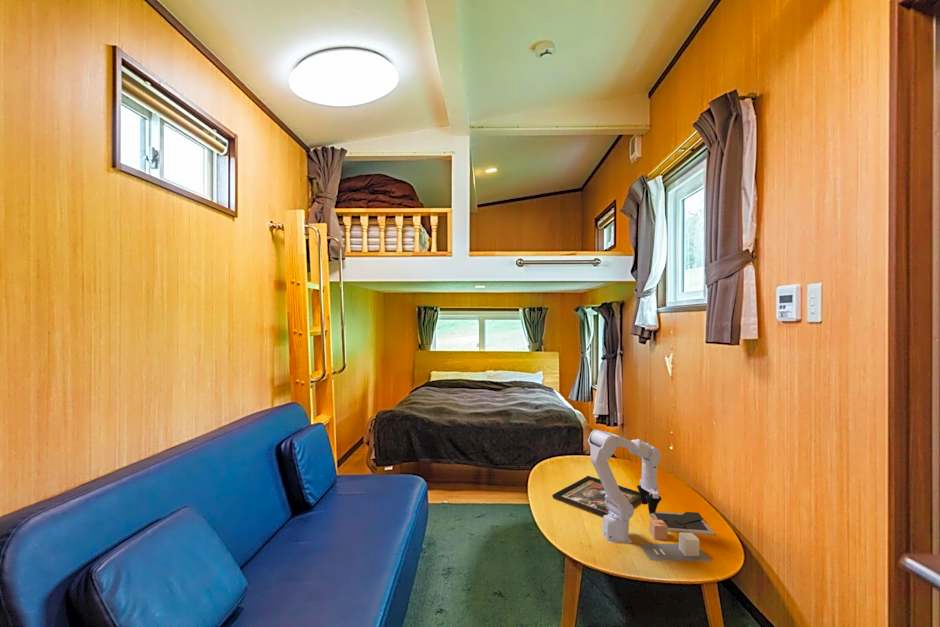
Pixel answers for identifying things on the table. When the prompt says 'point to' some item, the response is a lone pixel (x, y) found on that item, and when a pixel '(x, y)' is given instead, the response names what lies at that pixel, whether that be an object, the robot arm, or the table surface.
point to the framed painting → (592, 496)
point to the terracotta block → (658, 529)
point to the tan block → (689, 544)
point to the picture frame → (683, 522)
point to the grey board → (669, 553)
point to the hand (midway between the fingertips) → (648, 508)
